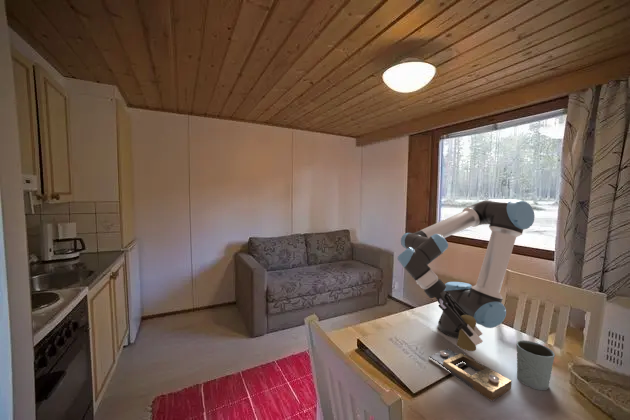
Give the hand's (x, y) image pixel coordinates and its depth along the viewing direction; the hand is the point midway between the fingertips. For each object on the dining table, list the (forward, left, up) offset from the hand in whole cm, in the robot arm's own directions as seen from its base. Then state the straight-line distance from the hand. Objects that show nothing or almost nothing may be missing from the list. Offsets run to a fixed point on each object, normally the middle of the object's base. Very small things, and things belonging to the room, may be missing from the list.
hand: (479, 339), depth 92 cm
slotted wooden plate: (-3, -1, -14) cm, 14 cm away
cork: (-3, -2, -4) cm, 6 cm away
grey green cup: (+10, +16, -14) cm, 24 cm away
